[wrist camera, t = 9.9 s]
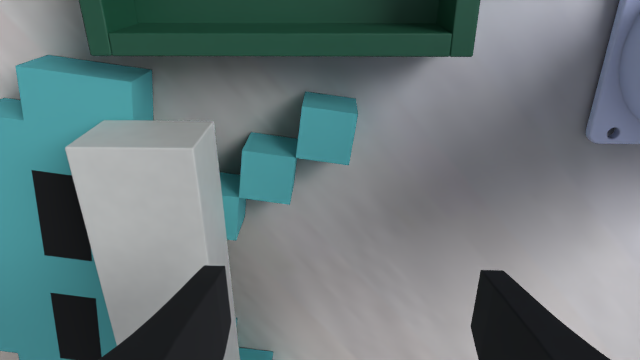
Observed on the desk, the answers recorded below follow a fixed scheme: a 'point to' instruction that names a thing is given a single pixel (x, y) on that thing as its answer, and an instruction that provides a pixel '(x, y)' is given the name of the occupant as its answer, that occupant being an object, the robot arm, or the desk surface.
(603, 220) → the desk surface
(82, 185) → the white block
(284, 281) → the desk surface
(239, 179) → the alien figure
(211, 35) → the green tray
